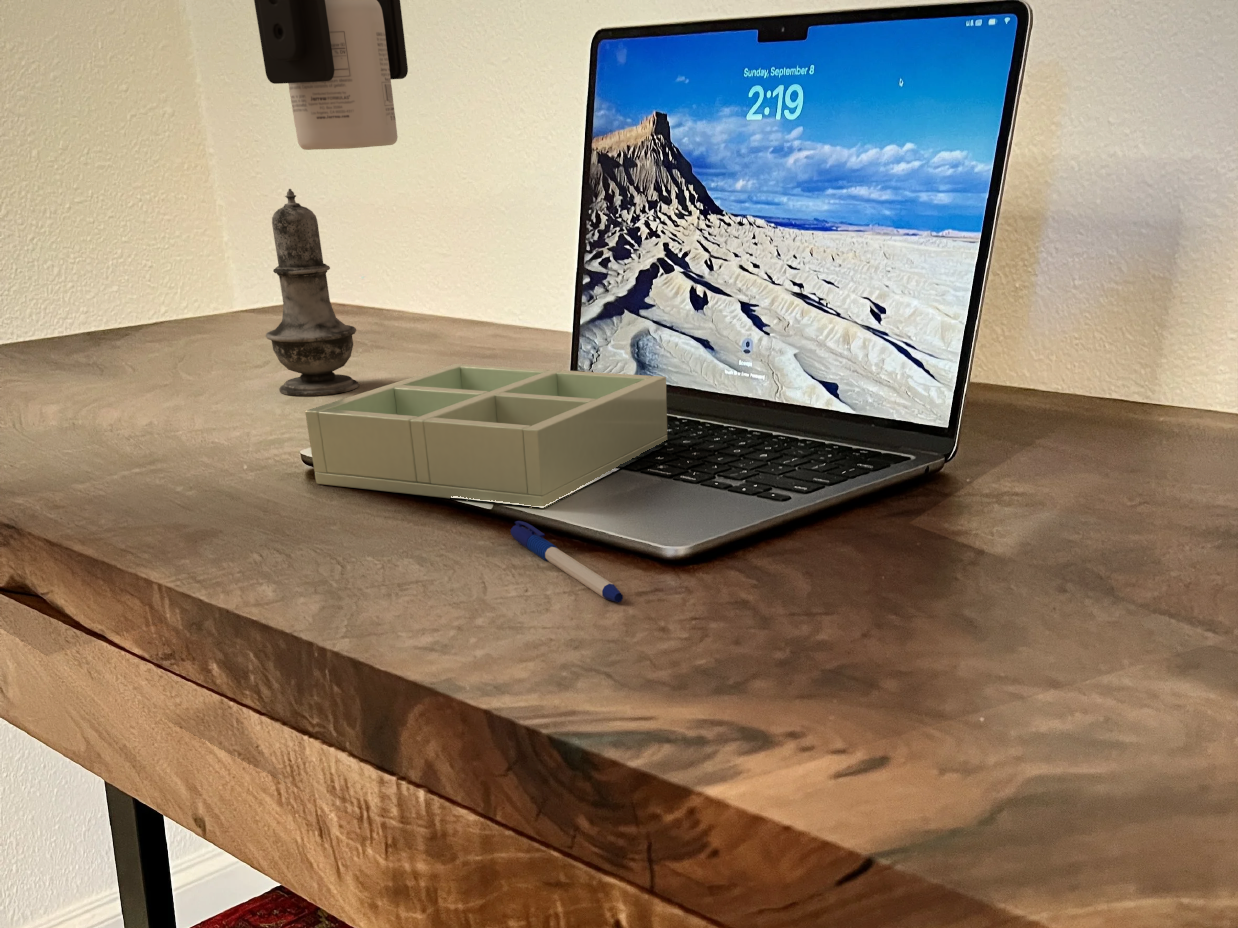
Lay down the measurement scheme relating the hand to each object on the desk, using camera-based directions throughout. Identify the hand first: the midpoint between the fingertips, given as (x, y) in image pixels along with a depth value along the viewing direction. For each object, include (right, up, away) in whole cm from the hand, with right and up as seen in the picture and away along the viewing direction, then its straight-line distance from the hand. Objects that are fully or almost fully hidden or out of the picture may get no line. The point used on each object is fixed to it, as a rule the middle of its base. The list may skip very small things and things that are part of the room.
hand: (339, 75), depth 58 cm
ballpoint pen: (+10, -22, -3) cm, 25 cm away
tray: (+5, -13, +12) cm, 19 cm away
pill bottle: (0, -3, +1) cm, 3 cm away
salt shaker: (-9, -2, +32) cm, 34 cm away
